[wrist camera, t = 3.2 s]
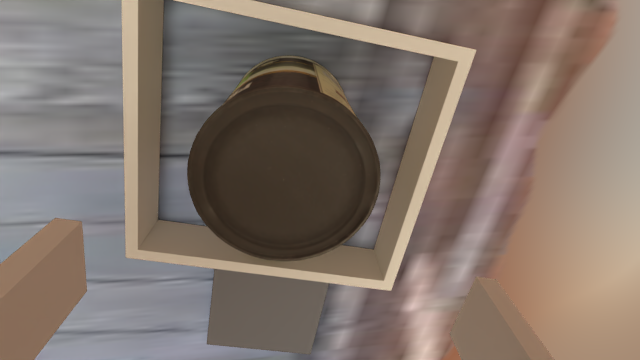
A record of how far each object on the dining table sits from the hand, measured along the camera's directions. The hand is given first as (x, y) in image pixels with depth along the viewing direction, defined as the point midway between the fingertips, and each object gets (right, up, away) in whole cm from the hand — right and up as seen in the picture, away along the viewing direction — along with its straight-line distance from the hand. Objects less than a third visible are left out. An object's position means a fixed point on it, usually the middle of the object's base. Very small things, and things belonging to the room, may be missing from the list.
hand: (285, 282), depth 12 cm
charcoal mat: (-5, -10, +29) cm, 31 cm away
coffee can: (-1, +9, +20) cm, 22 cm away
